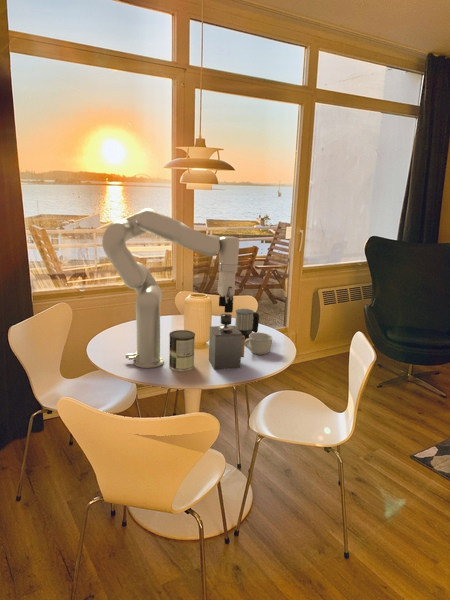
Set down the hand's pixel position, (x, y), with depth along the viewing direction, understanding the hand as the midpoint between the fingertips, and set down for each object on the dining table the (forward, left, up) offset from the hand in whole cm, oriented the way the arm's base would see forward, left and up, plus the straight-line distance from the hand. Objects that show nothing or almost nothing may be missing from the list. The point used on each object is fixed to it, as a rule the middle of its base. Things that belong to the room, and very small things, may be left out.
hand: (225, 309), depth 176 cm
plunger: (0, 0, -21) cm, 21 cm away
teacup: (+18, +11, -24) cm, 32 cm away
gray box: (+2, 0, -24) cm, 24 cm away
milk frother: (+17, +34, -24) cm, 45 cm away
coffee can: (-18, 0, -24) cm, 30 cm away
